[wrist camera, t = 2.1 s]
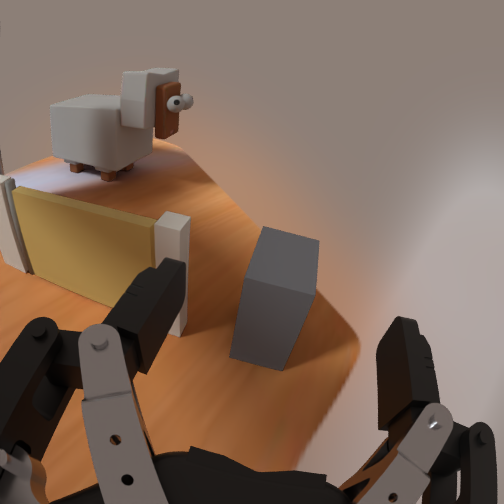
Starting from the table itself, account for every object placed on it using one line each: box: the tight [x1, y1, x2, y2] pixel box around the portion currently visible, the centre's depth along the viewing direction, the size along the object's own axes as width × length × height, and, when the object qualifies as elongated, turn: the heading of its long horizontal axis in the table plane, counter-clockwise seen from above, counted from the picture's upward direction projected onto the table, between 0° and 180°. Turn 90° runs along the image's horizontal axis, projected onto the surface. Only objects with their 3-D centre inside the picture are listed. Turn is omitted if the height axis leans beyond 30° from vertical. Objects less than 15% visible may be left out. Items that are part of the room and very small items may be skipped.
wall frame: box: [0, 175, 191, 337], centre depth 26 cm, size 26×2×12 cm, turn 78°
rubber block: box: [229, 226, 319, 371], centre depth 27 cm, size 5×7×10 cm
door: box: [12, 186, 157, 308], centre depth 27 cm, size 17×3×11 cm, turn 78°
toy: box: [50, 68, 193, 181], centre depth 47 cm, size 11×28×20 cm, turn 72°
